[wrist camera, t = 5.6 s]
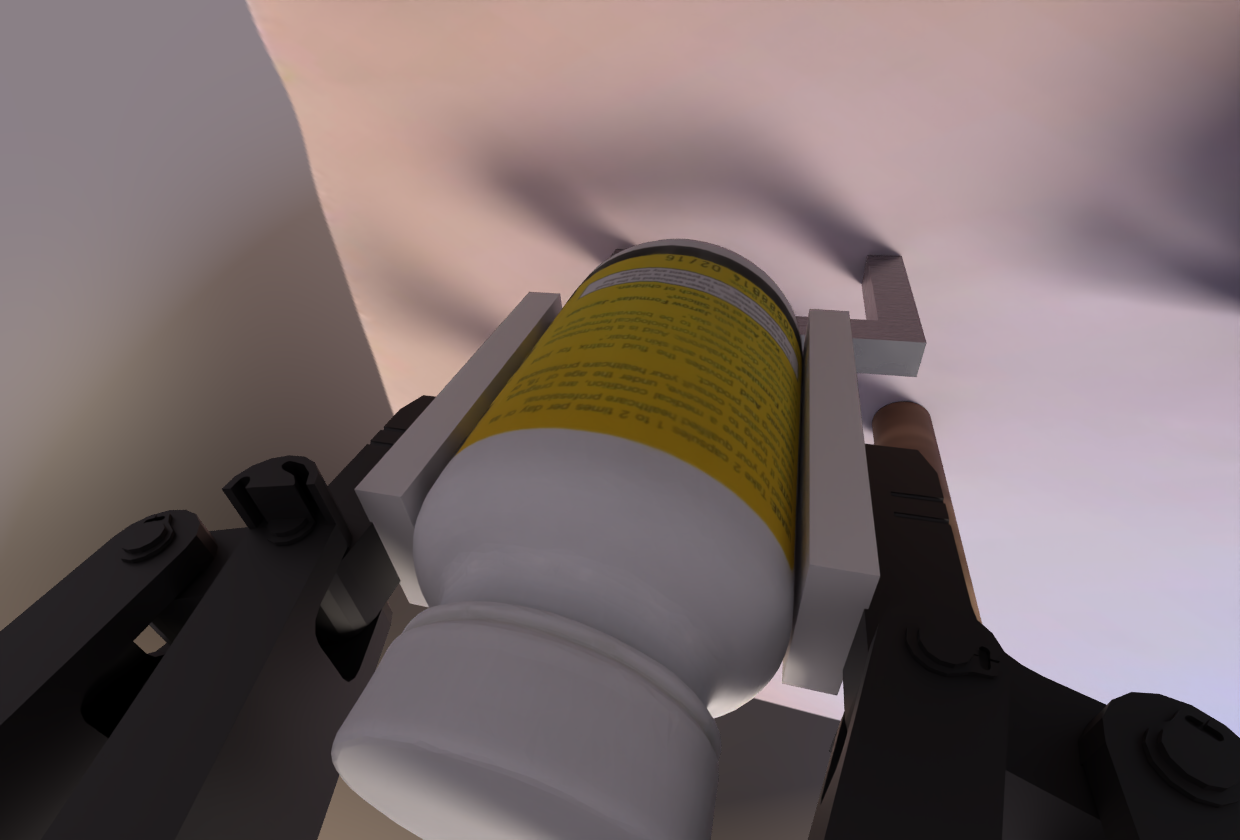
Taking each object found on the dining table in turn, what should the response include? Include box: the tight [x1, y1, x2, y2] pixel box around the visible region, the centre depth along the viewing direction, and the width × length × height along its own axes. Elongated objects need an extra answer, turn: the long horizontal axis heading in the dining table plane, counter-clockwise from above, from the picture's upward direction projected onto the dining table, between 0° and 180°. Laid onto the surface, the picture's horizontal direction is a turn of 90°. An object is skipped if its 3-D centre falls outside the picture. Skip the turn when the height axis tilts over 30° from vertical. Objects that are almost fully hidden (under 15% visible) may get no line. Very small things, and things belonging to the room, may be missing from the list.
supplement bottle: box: [331, 239, 803, 840], centre depth 9 cm, size 5×5×10 cm
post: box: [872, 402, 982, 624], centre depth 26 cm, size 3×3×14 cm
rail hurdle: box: [611, 249, 926, 377], centre depth 26 cm, size 2×14×8 cm, turn 96°
